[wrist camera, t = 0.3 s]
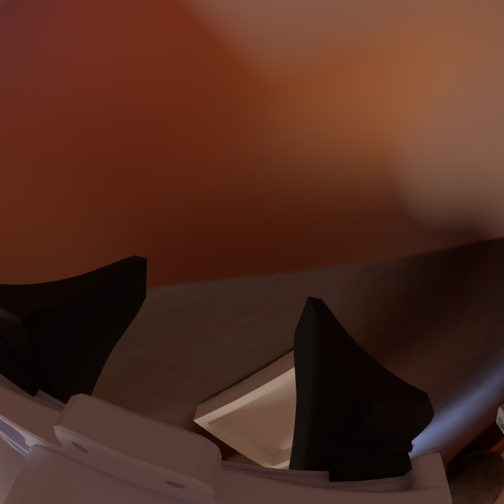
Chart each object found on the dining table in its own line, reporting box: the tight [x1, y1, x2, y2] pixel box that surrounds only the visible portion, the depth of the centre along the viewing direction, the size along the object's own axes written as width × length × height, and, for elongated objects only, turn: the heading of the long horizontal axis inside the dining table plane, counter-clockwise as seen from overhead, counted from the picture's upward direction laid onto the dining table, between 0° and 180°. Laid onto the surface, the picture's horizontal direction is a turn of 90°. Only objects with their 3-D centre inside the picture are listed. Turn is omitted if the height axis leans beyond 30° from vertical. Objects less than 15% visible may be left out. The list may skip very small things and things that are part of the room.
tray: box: [193, 351, 296, 469], centre depth 26 cm, size 14×13×2 cm
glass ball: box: [445, 450, 504, 504], centre depth 24 cm, size 15×15×15 cm
